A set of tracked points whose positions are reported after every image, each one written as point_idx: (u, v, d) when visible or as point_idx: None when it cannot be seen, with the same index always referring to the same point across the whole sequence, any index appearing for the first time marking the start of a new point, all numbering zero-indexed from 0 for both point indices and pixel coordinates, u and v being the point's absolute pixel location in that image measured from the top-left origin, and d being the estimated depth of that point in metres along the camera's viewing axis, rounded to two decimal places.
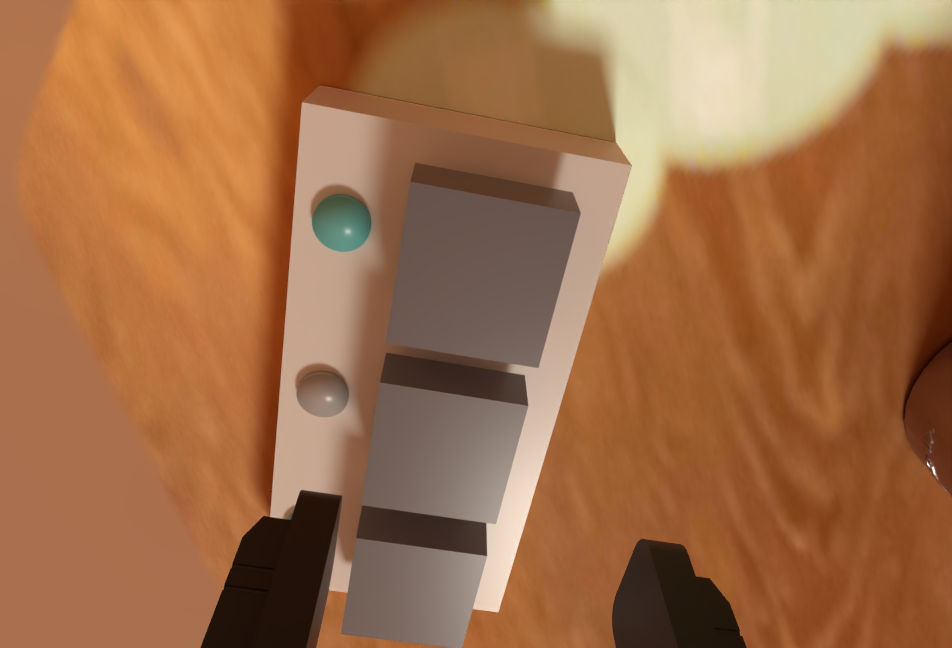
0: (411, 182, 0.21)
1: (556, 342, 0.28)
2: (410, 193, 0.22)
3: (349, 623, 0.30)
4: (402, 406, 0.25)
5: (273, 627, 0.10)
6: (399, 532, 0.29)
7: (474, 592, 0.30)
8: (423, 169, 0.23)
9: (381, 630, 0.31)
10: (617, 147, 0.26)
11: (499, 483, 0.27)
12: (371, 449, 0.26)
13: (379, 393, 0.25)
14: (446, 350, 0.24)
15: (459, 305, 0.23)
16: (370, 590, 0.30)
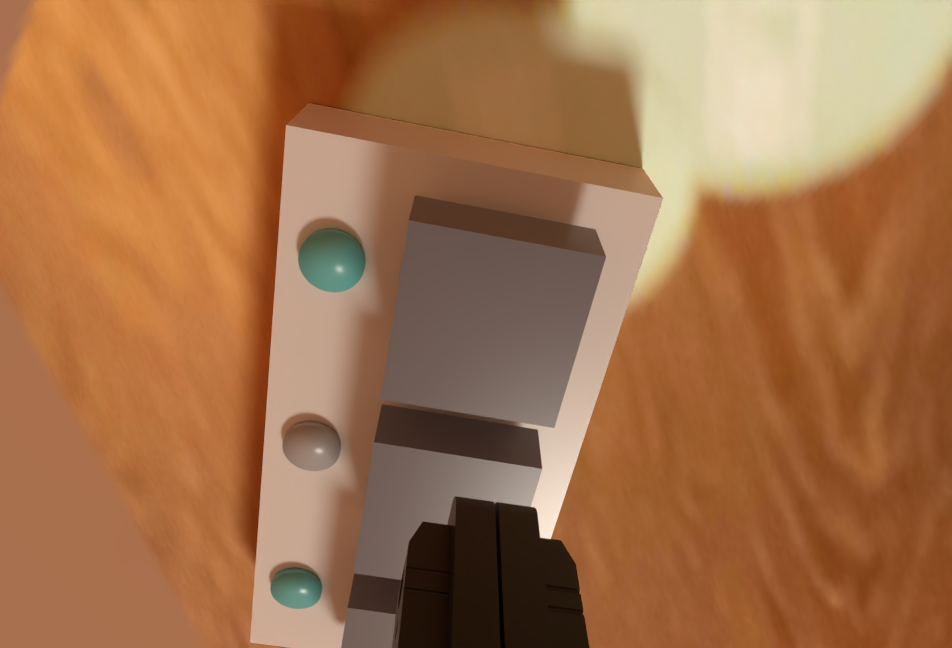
0: (409, 221, 0.18)
1: (573, 392, 0.24)
2: (408, 233, 0.19)
3: None
4: (399, 467, 0.22)
5: (466, 627, 0.10)
6: (396, 600, 0.26)
7: None
8: (424, 203, 0.20)
9: None
10: (644, 174, 0.23)
11: None
12: (364, 514, 0.23)
13: (373, 454, 0.22)
14: (450, 408, 0.21)
15: (465, 358, 0.20)
16: None
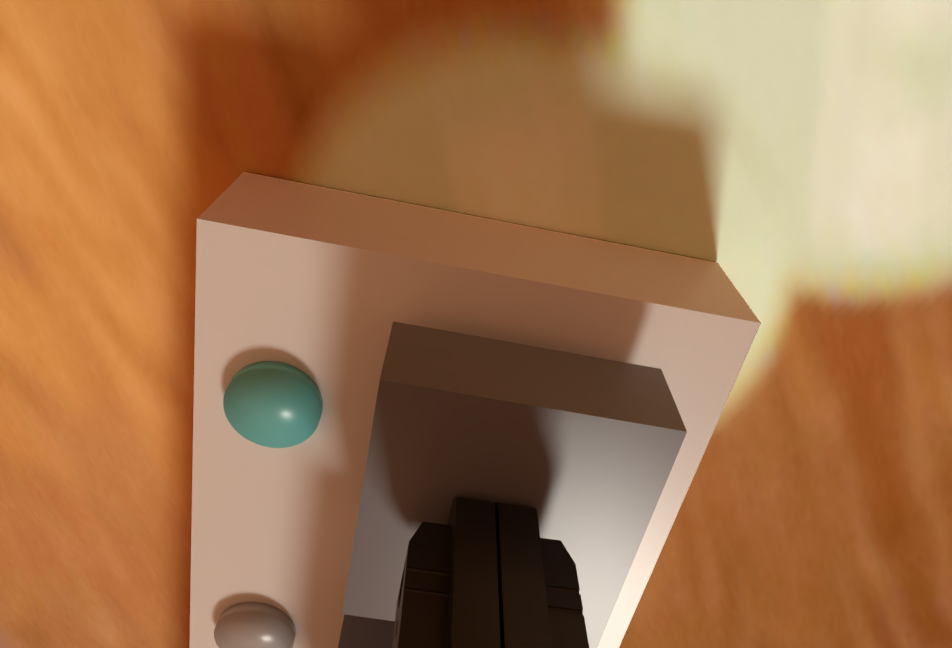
0: (381, 380, 0.12)
1: None
2: (380, 398, 0.12)
3: None
4: None
5: (466, 627, 0.10)
6: None
7: None
8: (406, 338, 0.13)
9: None
10: (722, 274, 0.16)
11: None
12: None
13: None
14: None
15: None
16: None
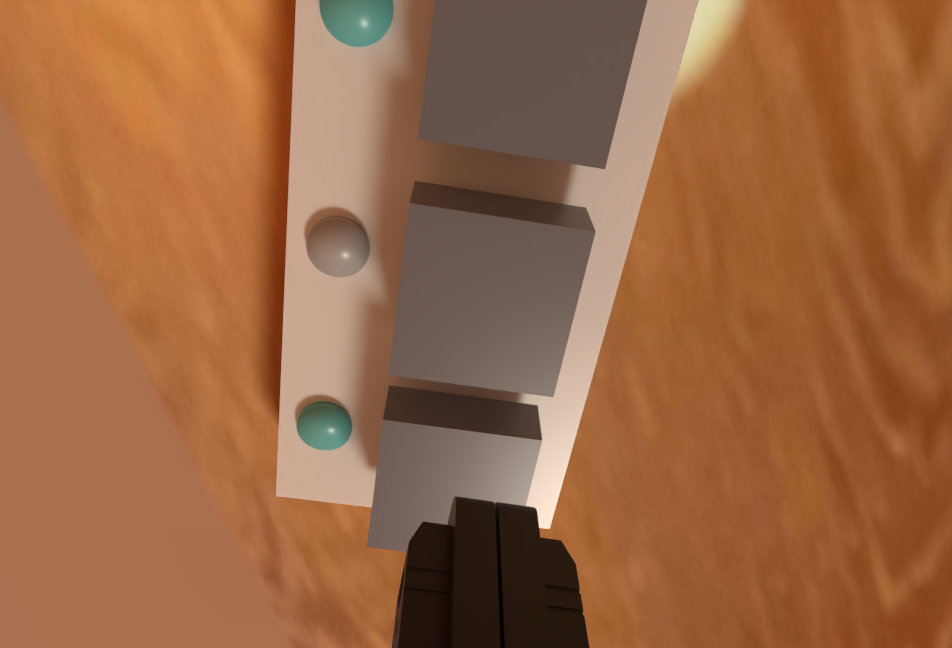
0: None
1: (622, 169, 0.22)
2: None
3: (376, 533, 0.26)
4: (437, 235, 0.20)
5: (466, 627, 0.10)
6: (434, 416, 0.24)
7: (526, 489, 0.25)
8: None
9: None
10: None
11: (558, 341, 0.22)
12: (400, 297, 0.21)
13: (409, 218, 0.20)
14: (492, 148, 0.20)
15: (508, 82, 0.19)
16: (401, 489, 0.25)
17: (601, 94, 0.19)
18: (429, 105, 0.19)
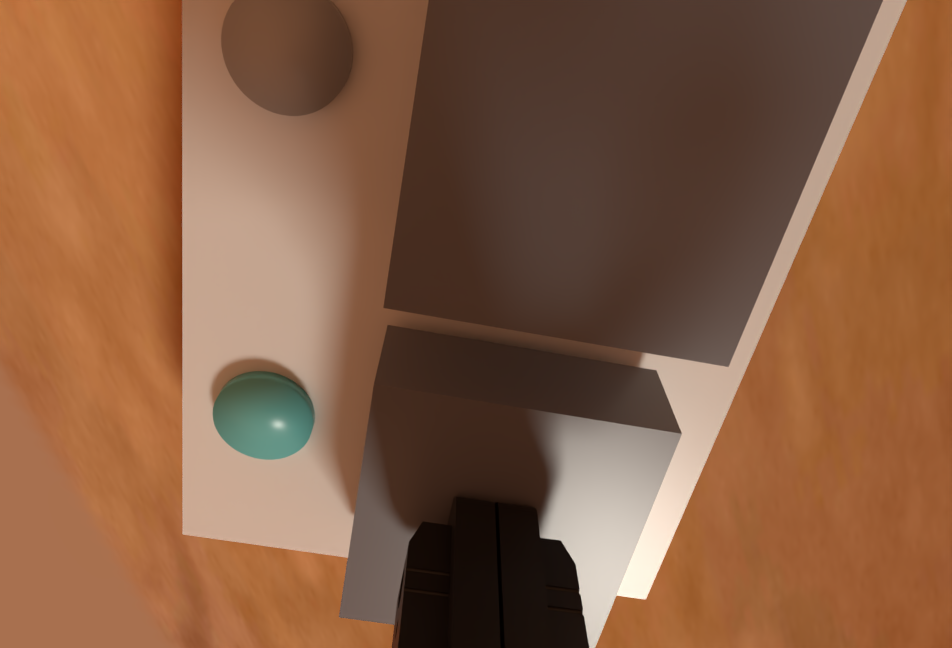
0: None
1: None
2: None
3: (357, 594, 0.14)
4: None
5: (466, 627, 0.10)
6: (473, 380, 0.12)
7: (638, 524, 0.13)
8: None
9: None
10: None
11: (760, 241, 0.10)
12: (416, 122, 0.09)
13: None
14: None
15: None
16: (405, 518, 0.13)
17: None
18: None
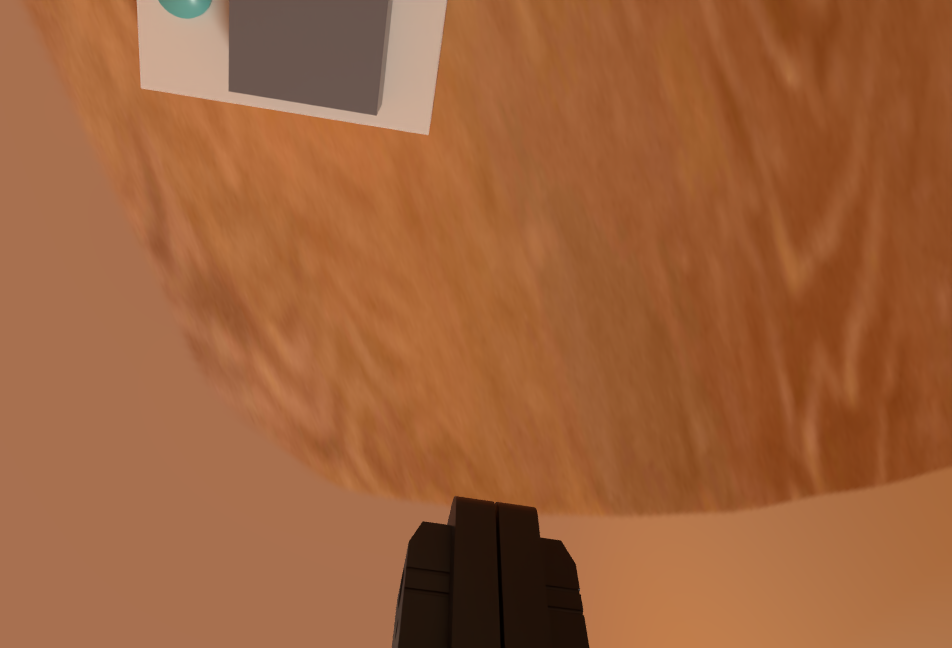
0: None
1: None
2: None
3: (236, 72, 0.25)
4: None
5: (466, 627, 0.10)
6: None
7: (383, 10, 0.24)
8: None
9: (277, 84, 0.25)
10: None
11: None
12: None
13: None
14: None
15: None
16: (257, 9, 0.24)
17: None
18: None
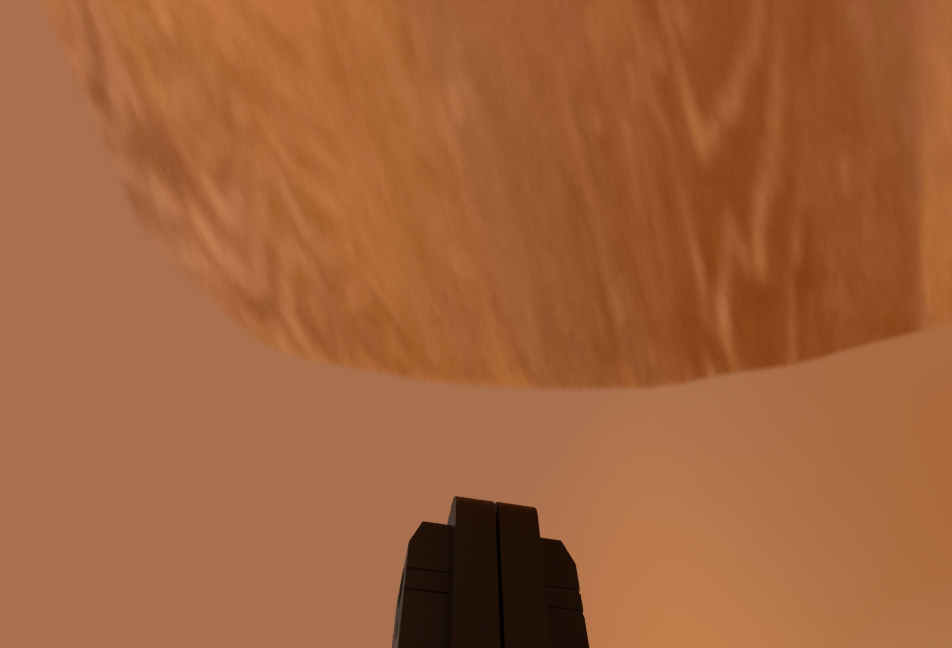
0: None
1: None
2: None
3: None
4: None
5: (466, 627, 0.10)
6: None
7: None
8: None
9: None
10: None
11: None
12: None
13: None
14: None
15: None
16: None
17: None
18: None
